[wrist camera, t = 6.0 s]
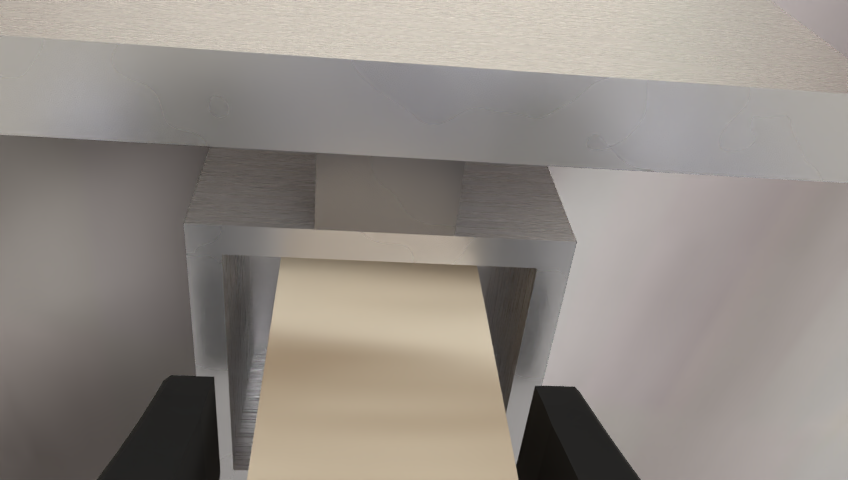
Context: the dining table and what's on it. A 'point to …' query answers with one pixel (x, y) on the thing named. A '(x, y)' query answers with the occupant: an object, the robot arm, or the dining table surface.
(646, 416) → the dining table surface
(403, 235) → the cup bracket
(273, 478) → the rail end
